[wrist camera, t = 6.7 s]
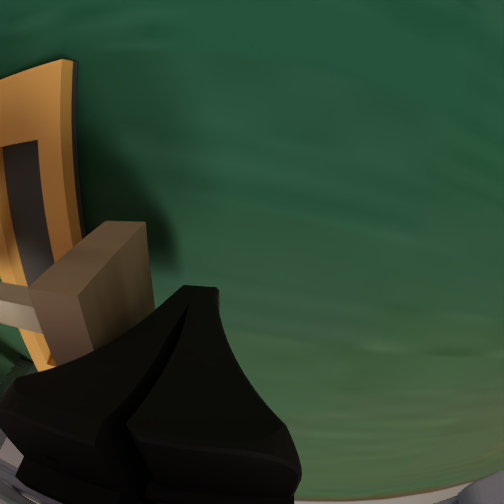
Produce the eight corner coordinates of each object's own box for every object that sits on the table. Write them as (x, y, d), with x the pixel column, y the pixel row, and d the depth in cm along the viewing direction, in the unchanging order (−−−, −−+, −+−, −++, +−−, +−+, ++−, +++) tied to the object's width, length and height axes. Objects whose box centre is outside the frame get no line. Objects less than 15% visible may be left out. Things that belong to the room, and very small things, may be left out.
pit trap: (127, 397, 17) (121, 412, 15) (56, 380, 17) (49, 392, 16) (78, 62, 9) (62, 59, 8) (-8, 89, 9) (-24, 90, 8)
